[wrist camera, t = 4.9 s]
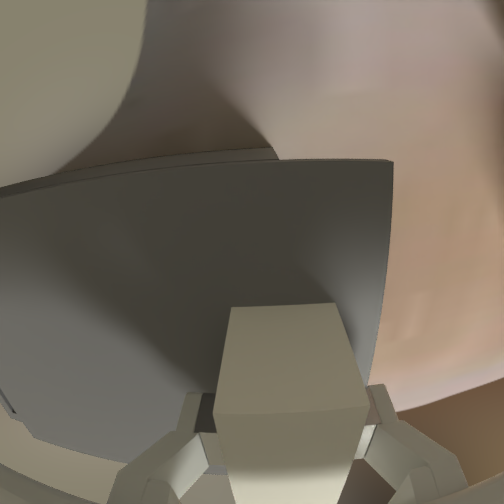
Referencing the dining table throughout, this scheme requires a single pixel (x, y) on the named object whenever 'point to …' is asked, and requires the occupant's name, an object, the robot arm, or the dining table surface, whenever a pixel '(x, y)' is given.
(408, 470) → the robot arm
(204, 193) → the lid
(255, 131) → the dining table surface
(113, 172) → the base
